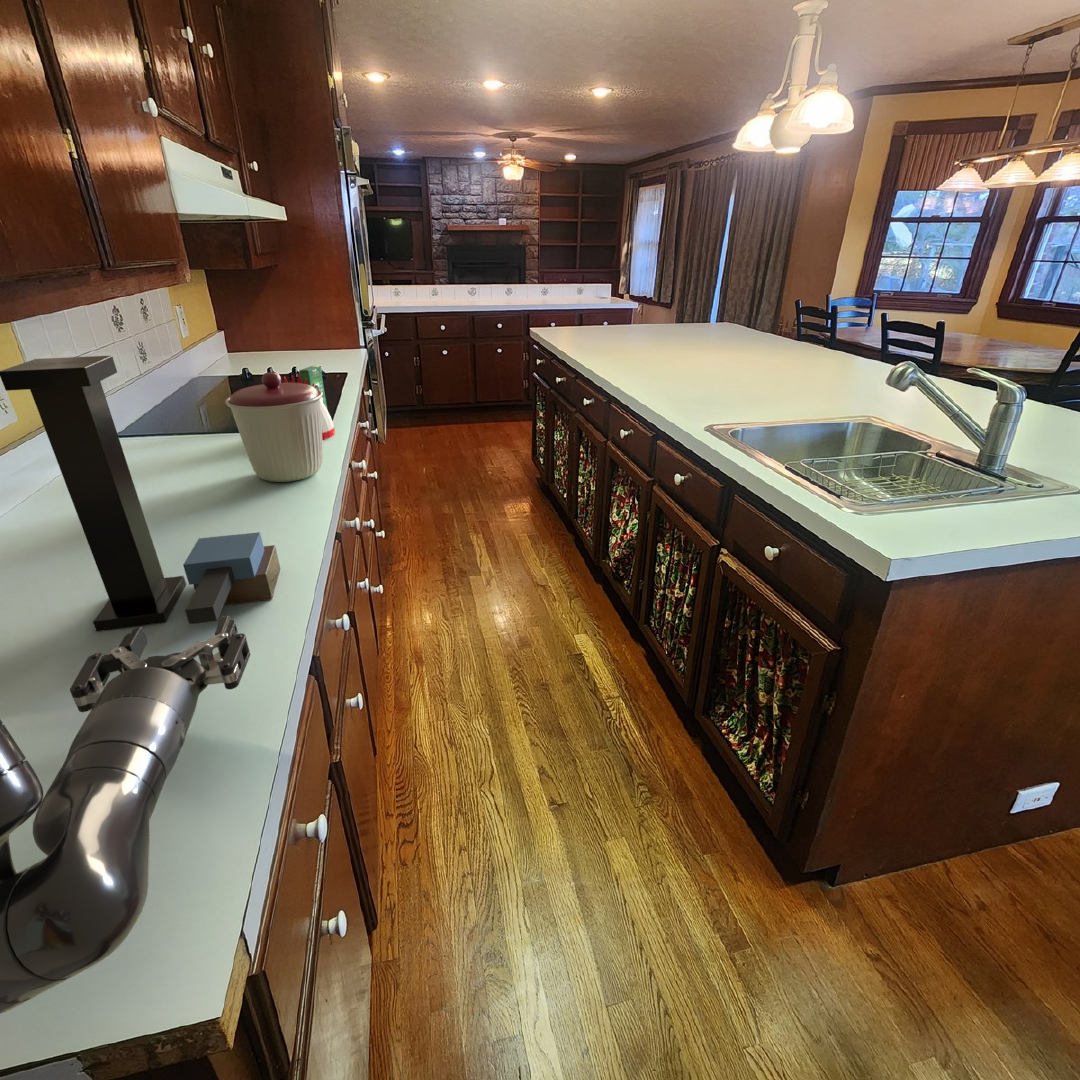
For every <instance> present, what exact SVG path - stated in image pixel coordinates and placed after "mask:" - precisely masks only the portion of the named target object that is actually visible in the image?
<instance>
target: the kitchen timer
mask: <svg viewBox="0 0 1080 1080" xmlns="http://www.w3.org/2000/svg"><path fill="white" fill-rule="evenodd" d="M297 377H298V378H297V383H301V384H303V383H302V381H301V378H300V374H298V375H297ZM283 379H284V381H283V383H289V381H288V380H287V377H286V376H283ZM291 383H296V380H295V378H294V375H293V374H292V375H291ZM307 383H308V380H307V379H306V380H305V383H304V384H307ZM312 387H314V383H313V385H312ZM320 406H321V423H322V441H324V440H326V438H327V439H329V438H331V437H333V436H335V434H336V430H335V424H334V421H333V418H332V416H331V414H330V412H329V410H328V407H327V408H326V407H325V405H324V404H323V402H322V401H321V400H320Z"/></svg>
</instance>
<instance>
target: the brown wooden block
mask: <svg viewBox="0 0 1080 1080" xmlns="http://www.w3.org/2000/svg"><path fill="white" fill-rule="evenodd" d="M263 547H264V553H263V556H262V559H261V561H260V564H259V567H258V570H257V572H256V575H255V577H253V578H244V579H236V580H234V582H233V584H232V587H231V589H230V591H229V594H228V596H227V598H226V601H225V603H224V605H223V606H229V605H230V606H231V605H238V604H246V603H255V602H261V601H262V602H263V601H270V600H273V596H274V593H275V589H276V586H277V583H278V578H279V576H280V571H281V565H280V561H279V556H278V553H277V552H278V551H277V547H276V545H275V544H273V545H263ZM192 586H193V588H194V591H195V590H196V588H197V586H198V584H192Z"/></svg>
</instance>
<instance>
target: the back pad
mask: <svg viewBox="0 0 1080 1080" xmlns="http://www.w3.org/2000/svg"><path fill="white" fill-rule="evenodd" d="M263 546H264V543H263V538H262V533H261V532H260V531H259V532H257V531H256V532H248V533H239V534H230V535H229V534H228V535H219V536H209V537H199V538H198V539H197V540H196V543H195V544H194V546H193V548H192V549H191V551H190V553H189V554H188V556H187V558H186V559H185V561H184V563H183V564H182V566H183V570H184V573H185V576H186V579H187V582H188V585H189V586H191V585H192V586H193V584H198V586H197V588H196V590H195V589H194V592H193V593H192V596H191V598H190V600H189V601H188V603H187V605H186V607H185V609H184V613H185V615H186V619H187V623H188V625H197V624H203V623H204V624H205V623H211V622H217V621H218V620H219V617H220V614H221V612H222V610H223V607H224V606H225V605H224V603H225V601H226V598H227V596H228V594H229V591H230V589H231V587H232V584H233V582H234V580H236V579H244V578H253V577H255V575H256V572H257V570H258V567H259V564H260V561H261V559H262V556H263V553H264V547H263Z"/></svg>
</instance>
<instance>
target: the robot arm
mask: <svg viewBox="0 0 1080 1080" xmlns="http://www.w3.org/2000/svg"><path fill="white" fill-rule="evenodd" d="M132 628H133V629H132V630H131V631H130V632H129V633H126V635H124V636H123V639H122V640H121V642H120V643H119V645H118V646H117V647H114V648H113V649H111V650H110V653H107V654H104V655H103V654H102V652H96V653H92V654H91V655H89V656H88V657H87V658H86V660H85V661H84V664H83V665H82V667H81V669H80V670H79V672H78V674H77V676H76V677H75V679H74V681H73V683H72V684H71V686H70V687H69V692H70V695H71V696H72V697H71V698H72V700H73V701H74V704H75V706H76V708H77V710H78V712H79V713H86V712H89V713H88V715H87V717H86V718H85V720H84V721H83V723H82V725H81V727H80V729H79V730H78V731H77V733H76V735H75V737H74V739H73V740H72V742H71V744H70V747H69V750H68V752H67V755H66V758H65V760H64V761H63V764H62V766H61V767H60V769H59V770H58V772H57V774H56V776H55V777H54V779H53V780H52V783H51V784H50V786H49V788H48V789H47V790H46V792H45V795H44V789H43V785H42V783H41V780H40V779H39V777H38V775H37V773H36V772H35V770H34V768H33V767H32V765H31V763H30V762H29V761H28V760H26V756H25V754H24V753H23V751H22V750H21V748H20V747H19V745H18V743H17V742H16V740H15V739H14V738H13V735H11V733H10V731H9V730H8V729H7V727H6V725H5V724H3V723H4V722H3V721H2V720H1V719H2V718H0V1015H1V1014H4V1013H7V1012H8V1011H10V1010H12V1009H14V1008H16V1007H19V1006H20V1005H23V1004H24V1003H26V1002H27V1001H29V1000H31V999H33V998H36V997H38V996H39V995H41V994H42V993H45V992H46V991H48V990H50V989H52V988H54V987H56V986H58V985H59V984H61V983H63V982H65V981H67V980H69V979H71V978H73V977H75V976H76V975H78V974H80V973H83V972H84V971H86V970H88V969H90V968H92V967H93V966H95V965H97V964H98V963H100V962H101V961H102V962H103V961H104V960H105V959H106V958H107V957H109V956H110V955H111V954H112V953H114V952H115V951H116V950H117V949H118V948H119V947H120V946H121V945H122V943H123V942H124V941H125V940H126V939H127V938H128V936H129V934H130V933H131V932H132V930H133V929H134V926H135V925H136V923H137V922H138V920H139V918H140V916H141V914H142V912H143V909H144V906H145V904H146V900H147V896H148V891H149V890H148V889H149V861H150V860H149V858H150V856H149V855H150V820H151V818H152V815H153V813H154V810H155V808H156V805H157V802H158V800H159V798H160V795H161V792H162V790H163V788H164V784H165V782H166V779H167V778H168V777H169V775H170V773H171V772H172V769H173V768H174V766H175V764H176V762H177V759H178V757H179V754H180V753H181V752H180V751H181V749H182V748H183V745H184V743H185V738H186V735H187V733H188V730H189V728H190V725H191V722H192V720H193V718H194V715H195V712H196V709H197V705H198V699H199V697H200V694H201V693H202V692H203V691H204V690H206V688H207V687H208V685H209V686H210V685H216V684H217V685H218V684H224V688H225V689H226V690H233V689H236V688H237V687H238V686H239V685H240V682H241V681H242V677H243V675H244V672H245V670H246V668H247V665H248V662H249V660H250V657H251V650H250V648H249V644H248V641H247V637H246V634H245V633H242V632H241V633H239V631H238V628H237V624H236V621H235V619H234V618H233V619H231V616H230V615H224V616H221V617H220V619H219V622H218V625H217V627H216V629H215V632H214V636H212V637H211V638H209V639H207V640H206V641H204V642H203V641H197V642H195V643H194V644H192V645H190V647H188V648H186V649H184V650H183V651H179V652H174V653H170V654H166V655H152V656H148V657H147V658H145V659H141V656H142V655H143V653H144V651H145V649H146V647H147V646H148V638H147V635H146V632H145V629H144V628H143V626H137V627H132ZM215 649H218V652H217V653H215V654H214V653H213V652H214V650H215ZM197 657H198V659H199V662H198V661H197V660H196V658H197ZM115 672H118V674H117V675H115V676H114V677H112V679H110V680H109V678H110V676H111V673H115ZM107 681H108V682H107ZM34 814H35V816H34V819H33V822H32V836H33V839H34V843H35V844H36V846H37V848H38V849H39V850H40V851H41V852H42V853H43V854H44V855H46V857H45V858H43V859H41V860H39V861H38V862H35V863H34V864H32V865H30V866H28V867H26V868H24V869H22V870H20V871H19V872H17V871H16V869H15V868H16V867H15V865H14V861H13V857H12V850H11V845H10V834H12V833H13V832H14V831H16V830H17V829H18V828H19V827H21V825H23V824H24V823H25V822H26V821H27V820H29V818H30V817H32V815H34Z"/></svg>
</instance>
